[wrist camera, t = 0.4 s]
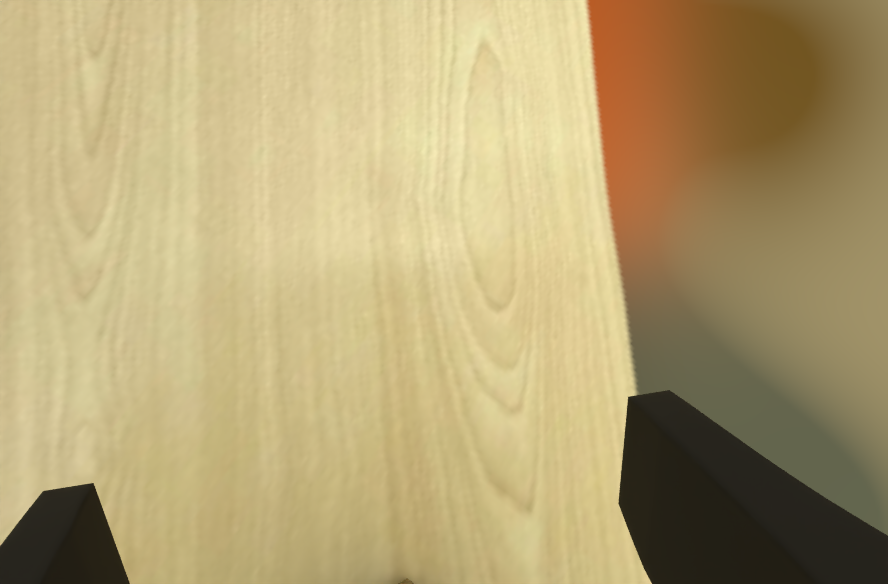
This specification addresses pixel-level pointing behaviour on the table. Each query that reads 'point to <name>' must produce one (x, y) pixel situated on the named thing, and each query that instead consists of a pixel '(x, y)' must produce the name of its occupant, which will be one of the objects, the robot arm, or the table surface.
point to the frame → (406, 582)
